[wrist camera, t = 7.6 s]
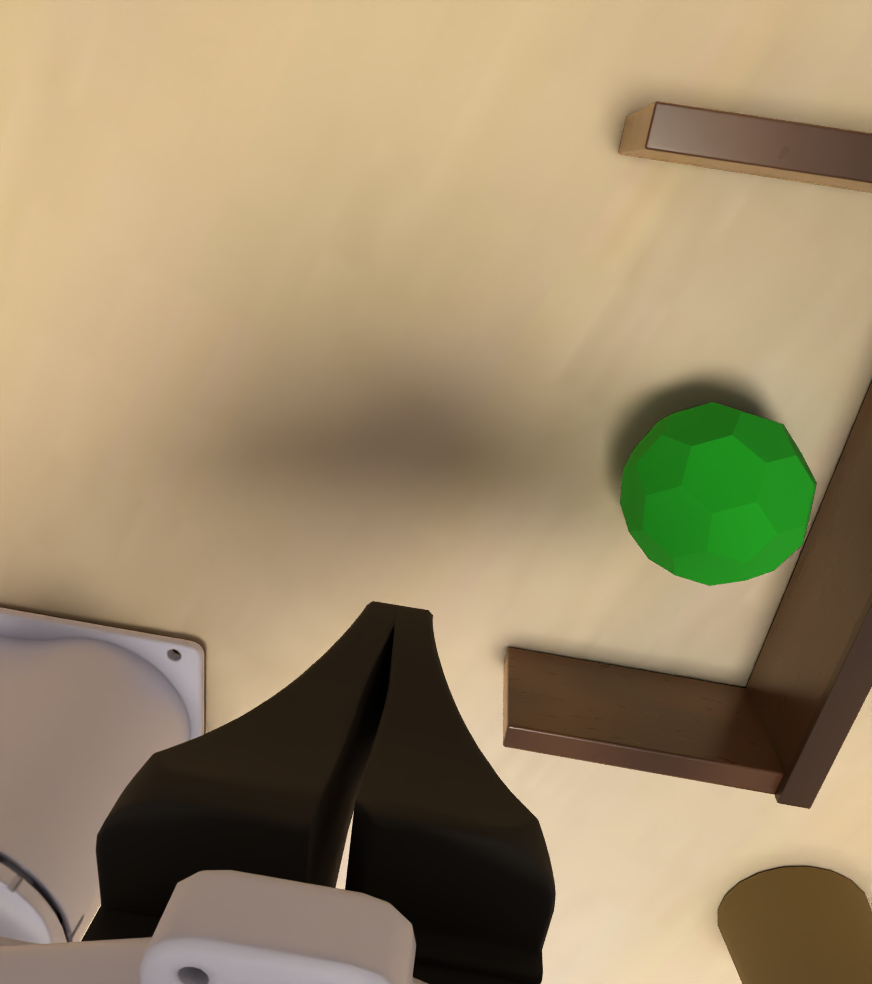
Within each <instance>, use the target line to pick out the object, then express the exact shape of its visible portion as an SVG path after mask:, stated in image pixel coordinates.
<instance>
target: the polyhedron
mask: <svg viewBox="0 0 872 984" xmlns="http://www.w3.org/2000/svg"><path fill="white" fill-rule="evenodd" d="M816 484H817V483H816V481H815V479H814V477H813V475H812V473H811V471H810V469H809V467H808V465H807V463H806V461H805V459H804V457H803V455H802V454H801V452H800V450H799V449H798V447H797V445H796V444H795V442H794V441H793V439H792V437H791V436H790V434H789V432H788V431H787V429H786V428H785V426H784V424H780V423H777V422H774V421H771V420H768V419H765V418H762V417H759V416H756V415H753V414H749V413H746V412H743V411H740V410H737V409H734V408H731V407H727V406H724V405H721V404H718V403H714V402H710V403H707V404H704V405H700V406H697V407H693V408H690V409H686V410H683V411H680V412H676V413H673V414H671V415H669V416H667V417H665V418H664V419H662V420H660V421H658V422H657V423H656V424H655V426H654V427H653V428H652V429H651V430H650V431H649V432H648V433H647V435H646V436H645V437H644V438H643V439H642V440H641V441H640V442H639V444H638V445H637V446H636V447H635V448H634V450H633V452H632V454H631V456H630V458H629V459H628V461H627V463H626V465H625V467H624V468H623V475H622V487H621V499H620V504H621V507H622V511H623V514H624V517H625V520H626V524H627V527H628V530H629V532H630V534H631V535H632V537H633V538H634V539H635V541H636V542H637V544H638V545H639V546H640V548H641V549H642V550H643V552H644V553H645V555H646V556H647V557H648V559H650V560H652V561H653V562H655V563H656V564H658V565H660V566H661V567H663V568H664V569H666V570H668V571H669V572H671V573H673V574H674V575H676V576H680V577H683V578H686V579H689V580H693V581H696V582H699V583H702V584H706V585H709V586H711V585H717V584H724V583H731V582H738V581H744V580H748V579H751V578H754V577H757V576H760V575H762V574H765V573H768V572H771V571H774V570H775V569H776V568H777V567H778V566H779V565H781V564H782V563H783V562H784V561H785V560H786V559H787V558H788V557H789V556H790V555H791V554H793V553H794V552H795V551H796V550H797V549H798V548H799V547H800V546H801V545H802V544H803V540H804V537H805V533H806V529H807V526H808V522H809V518H810V513H811V508H812V504H813V499H814V494H815V489H816Z"/></svg>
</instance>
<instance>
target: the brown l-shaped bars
mask: <svg viewBox="0 0 872 984" xmlns="http://www.w3.org/2000/svg"><path fill="white" fill-rule="evenodd" d="M619 154H620V155H627V156H633V157H640V158H647V159H653V160H660V161H666V162H673V163H679V164H686V165H693V166H699V167H706V168H712V169H719V170H726V171H732V172H739V173H745V174H752V175H758V176H765V177H772V178H778V179H785V180H791V181H798V182H805V183H811V184H818V185H824V186H831V187H837V188H844V189H851V190H857V191H864V192H870V193H872V133H866V132H859V131H852V130H845V129H839V128H832V127H825V126H819V125H812V124H805V123H799V122H792V121H785V120H779V119H772V118H765V117H758V116H752V115H745V114H738V113H732V112H725V111H718V110H712V109H705V108H698V107H692V106H685V105H678V104H672V103H665V102H655V103H653V104H651V105H649V106H647V107H645V108H643V109H641V110H639V111H637V112H635V113H633V114H631V115H629V116H627V117H626V121H625V125H624V130H623V134H622V139H621V143H620V148H619ZM871 687H872V383H871V385H870V388H869V390H868V393H867V395H866V397H865V400H864V402H863V405H862V407H861V410H860V412H859V414H858V417H857V419H856V422H855V424H854V427H853V429H852V431H851V434H850V436H849V439H848V441H847V444H846V446H845V449H844V451H843V453H842V456H841V458H840V461H839V463H838V466H837V468H836V470H835V473H834V475H833V478H832V480H831V483H830V485H829V487H828V490H827V492H826V495H825V497H824V500H823V502H822V504H821V507H820V509H819V512H818V514H817V517H816V519H815V522H814V524H813V526H812V529H811V531H810V534H809V536H808V539H807V541H806V543H805V546H804V548H803V551H802V553H801V556H800V558H799V560H798V563H797V565H796V568H795V570H794V573H793V575H792V577H791V580H790V582H789V585H788V587H787V590H786V592H785V595H784V597H783V599H782V602H781V604H780V607H779V609H778V612H777V614H776V616H775V619H774V621H773V624H772V626H771V629H770V631H769V633H768V636H767V638H766V641H765V643H764V646H763V648H762V650H761V653H760V655H759V658H758V660H757V663H756V665H755V668H754V670H753V672H752V675H751V677H750V680H749V682H748V685H747V687H746V688H741V687H735V686H729V685H723V684H718V683H712V682H706V681H700V680H694V679H689V678H683V677H677V676H671V675H666V674H660V673H654V672H648V671H642V670H637V669H631V668H625V667H619V666H613V665H608V664H602V663H596V662H590V661H585V660H579V659H573V658H567V657H561V656H556V655H550V654H544V653H538V652H532V651H527V650H521V649H515V648H508V650H507V654H506V658H505V663H504V690H503V745H504V746H505V747H509V748H515V749H521V750H526V751H532V752H538V753H543V754H549V755H555V756H560V757H566V758H571V759H577V760H583V761H588V762H594V763H600V764H605V765H611V766H617V767H622V768H628V769H634V770H639V771H645V772H651V773H656V774H662V775H668V776H673V777H679V778H685V779H690V780H696V781H701V782H707V783H713V784H718V785H724V786H730V787H735V788H741V789H747V790H752V791H758V792H764V793H769V794H775V798H776V800H777V802H778V803H780V804H786V805H792V806H797V807H803V808H809V809H810V808H811V806H812V804H813V802H814V800H815V798H816V796H817V794H818V792H819V790H820V788H821V786H822V784H823V782H824V780H825V778H826V776H827V774H828V772H829V770H830V768H831V766H832V764H833V762H834V760H835V758H836V756H837V754H838V752H839V750H840V748H841V746H842V744H843V742H844V740H845V738H846V736H847V735H848V733H849V731H850V729H851V727H852V725H853V723H854V721H855V719H856V717H857V715H858V713H859V711H860V709H861V707H862V705H863V703H864V701H865V699H866V697H867V695H868V693H869V691H870V689H871Z"/></svg>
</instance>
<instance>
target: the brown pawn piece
mask: <svg viewBox="0 0 872 984" xmlns="http://www.w3.org/2000/svg"><path fill="white" fill-rule="evenodd" d="M718 927H719V929H720V932H721V934H722V936H723V939H724V941H725V943H726V946H727V948H728V951H729V953H730V955H731V958H732V960H733V962H734V965H735V967H736V969H737V972H738V974H739V977H740V979H741V981H742V984H872V911H871V908H870V905H869V903H868V900H867V897H866V895H865V893H864V892H863V891H862V890H861V889H860V888H859V887H858V886H857V885H856V884H855V883H854V882H853V881H852V880H850V879H848V878H845V877H843V876H841V875H839V874H837V873H835V872H833V871H829V870H824V869H818V868H813V867H782V868H778V869H774V870H769V871H765V872H761V873H758V874H756V875H754V876H752V877H750V878H748V879H746V880H744V881H742V882H740V883H739V884H738V885H737V886H735V887H734V888H733V889H732V890H731V891H730V892H729V893H728V894H727V895H726V896H725V897H724V899H723V901H722V903H721V905H720V907H719V909H718Z"/></svg>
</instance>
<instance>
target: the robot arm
mask: <svg viewBox="0 0 872 984" xmlns="http://www.w3.org/2000/svg"><path fill="white" fill-rule="evenodd" d="M172 649H175V650H177V651H178V652H179V653H180V654H177V653H175V652H174V651H173V650H172ZM353 811H354V816H353V825H352V833H351V842H350V851H349V860H348V869H347V878H346V886H345V890H343V889H337V888H335V887H336V882H337V878H338V873H339V869H340V864H341V860H342V855H343V851H344V846H345V842H346V837H347V833H348V829H349V825H350V822H351V818H352V815H353ZM555 895H556V894H555V883H554V877H553V872H552V867H551V862H550V857H549V854H548V850H547V846H546V842H545V839H544V836H543V833H542V830H541V827H540V824H539V821H538V819H537V818H536V817H535V816H534V815H533V814H532V813H531V812H530V811H529V810H528V809H527V808H526V807H525V806H524V805H523V804H522V803H521V802H520V801H519V800H518V799H517V798H516V797H515V796H514V795H513V793H512V792H511V791H510V790H509V789H508V788H507V786H506V785H505V784H504V783H503V781H502V780H501V779H500V778H499V777H498V775H497V774H496V772H495V771H494V769H493V768H492V766H491V765H490V764H489V762H488V761H487V759H486V758H485V756H484V755H483V753H482V752H481V751H480V749H479V748H478V746H477V744H476V743H475V741H474V739H473V737H472V736H471V734H470V732H469V730H468V729H467V727H466V725H465V723H464V721H463V719H462V717H461V715H460V713H459V711H458V709H457V706H456V704H455V702H454V699H453V697H452V694H451V692H450V690H449V687H448V684H447V682H446V679H445V676H444V673H443V669H442V666H441V663H440V660H439V656H438V652H437V648H436V644H435V639H434V633H433V615H432V614H431V613H430V611H429V610H424V609H417V608H411V607H405V606H399V605H393V604H387V603H380V602H374V601H373V602H371V603H369V604H368V605H367V606H366V607H365V609H364V610H363V612H362V613H361V614H360V616H359V617H358V618H357V619H356V621H355V622H354V623H353V624H352V625H351V627H350V628H349V629H348V630H347V631H346V632H345V633H344V634H343V636H342V637H341V638H340V639H339V640H338V641H337V642H336V643H335V644H334V645H333V646H332V647H331V648H330V649H329V650H328V651H327V652H326V653H325V654H324V655H323V656H322V657H321V658H320V659H319V660H317V661H316V662H315V663H314V664H313V665H312V666H311V667H310V668H309V669H307V670H306V671H305V672H304V673H303V674H302V675H300V676H299V677H298V678H297V679H296V680H294V681H293V682H292V683H290V684H289V685H288V686H287V687H285V688H284V689H282V690H281V691H280V692H278V693H277V694H276V695H274V696H273V697H271V698H270V699H268V700H267V701H265V702H264V703H262V704H260V705H259V706H257V707H256V708H254V709H253V710H251V711H249V712H248V713H246V714H244V715H243V716H241V717H239V718H237V719H235V720H233V721H231V722H229V723H227V724H225V725H223V726H221V727H219V728H217V729H215V730H213V731H211V732H208V733H206V734H204V651H203V649H202V647H201V646H200V645H199V644H198V643H196V642H193V641H189V640H184V639H178V638H172V637H166V636H161V635H155V634H149V633H144V632H138V631H132V630H126V629H121V628H115V627H109V626H104V625H98V624H92V623H86V622H81V621H75V620H69V619H64V618H58V617H52V616H46V615H41V614H35V613H29V612H23V611H18V610H12V609H6V608H1V607H0V984H541V981H542V975H543V965H542V948H543V945H544V941H545V938H546V935H547V931H548V928H549V925H550V922H551V918H552V915H553V912H554V906H555ZM100 904H101V907H100V908H99V906H100ZM98 908H99V910H98V912H97V914H96V916H95V917H94V919H93V921H92V923H91V925H90V926H89V928H88V930H87V932H86V934H85V935H84V937H83V939H82V941H81V942H79V941H80V940H81V938H82V936H83V934H84V933H85V931H86V929H87V927H88V925H89V924H90V922H91V920H92V918H93V916H94V915H95V913H96V911H97V909H98Z"/></svg>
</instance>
